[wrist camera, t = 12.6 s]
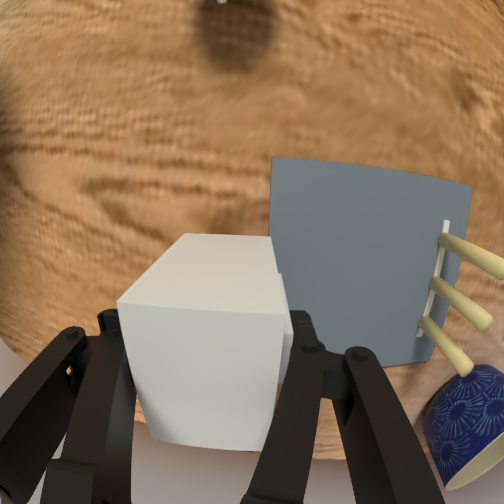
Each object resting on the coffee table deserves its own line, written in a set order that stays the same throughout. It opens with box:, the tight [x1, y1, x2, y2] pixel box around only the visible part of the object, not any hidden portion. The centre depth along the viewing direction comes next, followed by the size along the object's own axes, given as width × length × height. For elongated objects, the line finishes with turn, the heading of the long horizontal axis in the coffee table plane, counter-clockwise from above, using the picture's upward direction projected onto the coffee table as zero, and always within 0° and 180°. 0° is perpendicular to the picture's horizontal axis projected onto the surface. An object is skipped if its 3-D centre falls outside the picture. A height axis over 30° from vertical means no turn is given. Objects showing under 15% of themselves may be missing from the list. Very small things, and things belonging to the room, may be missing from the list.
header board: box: [268, 157, 504, 377], centre depth 16 cm, size 16×16×7 cm
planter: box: [423, 364, 504, 490], centre depth 18 cm, size 12×12×11 cm
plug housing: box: [116, 233, 286, 451], centre depth 13 cm, size 5×7×9 cm
